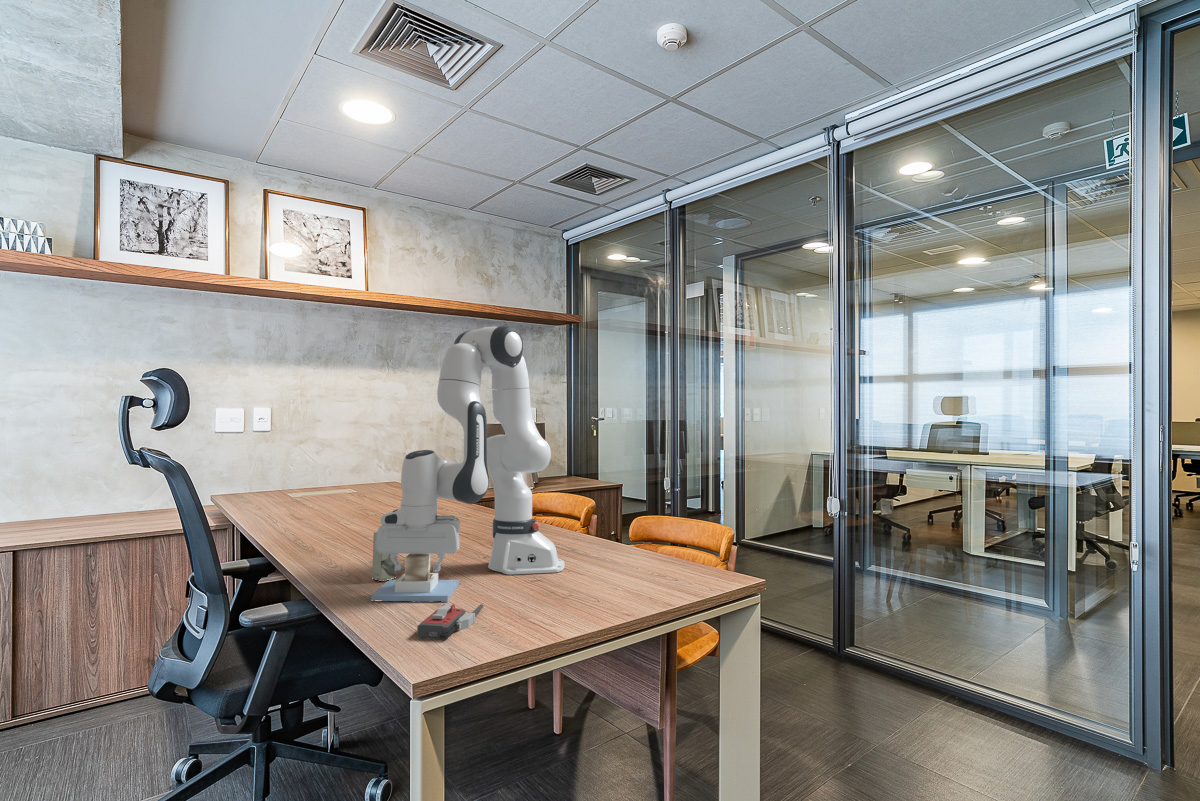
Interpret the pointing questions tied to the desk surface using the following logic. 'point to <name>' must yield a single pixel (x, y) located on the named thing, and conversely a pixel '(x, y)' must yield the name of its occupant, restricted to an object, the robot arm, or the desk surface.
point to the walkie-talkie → (446, 622)
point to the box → (382, 564)
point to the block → (417, 567)
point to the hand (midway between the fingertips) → (417, 570)
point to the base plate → (416, 590)
